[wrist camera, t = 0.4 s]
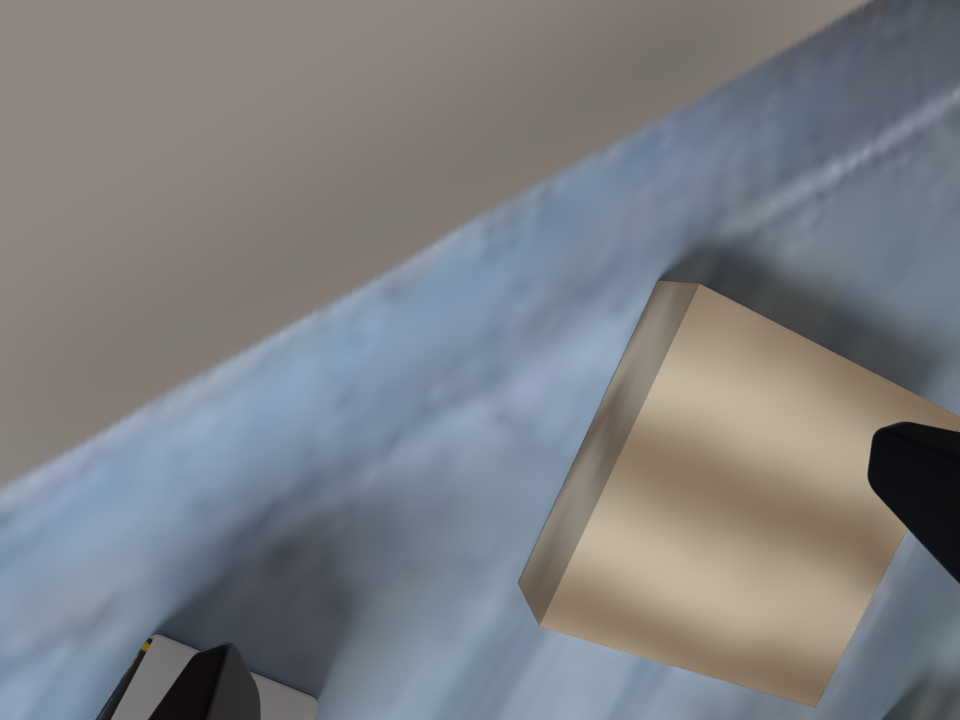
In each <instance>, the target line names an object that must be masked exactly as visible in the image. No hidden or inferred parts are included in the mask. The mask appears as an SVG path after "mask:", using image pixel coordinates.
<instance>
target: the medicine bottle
mask: <svg viewBox="0 0 960 720" xmlns="http://www.w3.org/2000/svg"><path fill="white" fill-rule="evenodd" d="M197 652H199V650H196V649H194V648H192V647H189V646H187V645H184V644H182V643H179V642H177V641H174V640H172V639H169V638H167V637H165V636H162V635H153V636H151V637H150V638H149V639H148V640H147V641H146V642H145V643H144V645H143V646H142V648H141V649H140V651H139V653H138V654H137V656H136V657H135V659H134V660H133V662H132V663H131V665H130V667H129V668H128V670H127V671H126V673H125V674H124V676H123V678H122V679H121V681H120V682H119V684H118V685H117V687H116V689H115V690H114V692H113V693H112V695H111V696H110V698H109V699H108V701H107V703H106V704H105V706H104V707H103V709H102V710H101V712H100V714H99V715H98V717H97V718H96V720H148V718H149V717H150V716H151V714H152V713H153V711H154V710H155V709H156V707H157V706H158V704H159V703H160V701H161V700H162V699H163V697H164V696H165V694H166V693H167V692H168V690H169V689H170V687H171V686H172V684H173V683H174V682H175V680H176V679H177V677H178V676H179V675H180V673H181V672H182V670H183V669H184V667H185V666H186V665H187V663H188V662H189V660H190V659H191V658H192V657H193V656H194V655H195V654H196V653H197ZM250 673H251V675H252V677H253V679H254V680H255V682H256V685H257V687H258V691H259V696H260V705H261V720H316V719H317V708H318V705H317V702H316V699H315V698H314V697H312V696H310V695H307V694H305V693H302V692H300V691H297V690H295V689H292V688H290V687H287V686H285V685H283V684H280V683H278V682H275V681H273V680H270V679H268V678H265V677H263V676H260V675H258V674H255V673H253V672H251V671H250Z"/></svg>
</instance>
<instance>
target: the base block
mask: <svg viewBox="0 0 960 720" xmlns="http://www.w3.org/2000/svg"><path fill="white" fill-rule="evenodd" d="M903 421H907V422H913V423H918V424H923V425H928V426H933V427H938V428H943V429H947V430H952V431H957V432H958V430H959V428H960V417H959V416H957V415H955V414H953V413H951V412H949V411H947V410H945V409H943V408H942V407H940V406H938V405H936V404H934V403H932V402H930V401H928V400H926V399H924V398H922V397H920V396H918V395H916V394H914V393H912V392H910V391H908V390H906V389H904V388H902V387H900V386H899V385H897V384H895V383H893V382H891V381H889V380H887V379H885V378H883V377H881V376H879V375H877V374H875V373H873V372H871V371H869V370H867V369H865V368H863V367H861V366H859V365H857V364H856V363H854V362H852V361H850V360H848V359H846V358H844V357H842V356H840V355H838V354H836V353H834V352H832V351H830V350H828V349H826V348H824V347H822V346H820V345H818V344H816V343H815V342H813V341H811V340H809V339H807V338H805V337H803V336H801V335H799V334H797V333H795V332H793V331H791V330H789V329H787V328H785V327H783V326H781V325H779V324H777V323H775V322H773V321H772V320H770V319H768V318H766V317H764V316H762V315H760V314H758V313H756V312H754V311H752V310H750V309H748V308H746V307H744V306H742V305H740V304H738V303H736V302H734V301H732V300H730V299H729V298H727V297H725V296H723V295H721V294H719V293H717V292H715V291H713V290H711V289H709V288H707V287H705V286H703V285H701V284H696V283H683V282H670V281H657V283H656V285H655V288H654V290H653V292H652V294H651V296H650V298H649V301H648V303H647V305H646V307H645V309H644V311H643V314H642V316H641V318H640V320H639V322H638V324H637V327H636V329H635V331H634V333H633V335H632V337H631V340H630V342H629V344H628V346H627V348H626V350H625V353H624V355H623V357H622V359H621V361H620V363H619V366H618V368H617V370H616V372H615V374H614V376H613V379H612V381H611V383H610V385H609V387H608V389H607V392H606V394H605V396H604V398H603V400H602V402H601V405H600V407H599V409H598V411H597V413H596V415H595V418H594V420H593V422H592V424H591V426H590V428H589V431H588V433H587V435H586V437H585V439H584V441H583V444H582V446H581V448H580V450H579V452H578V454H577V457H576V459H575V461H574V463H573V465H572V467H571V469H570V472H569V474H568V476H567V478H566V480H565V482H564V485H563V487H562V489H561V491H560V493H559V495H558V498H557V500H556V502H555V504H554V506H553V508H552V511H551V513H550V515H549V517H548V519H547V521H546V524H545V526H544V528H543V530H542V532H541V534H540V537H539V539H538V541H537V543H536V545H535V547H534V550H533V552H532V554H531V556H530V558H529V560H528V563H527V565H526V567H525V569H524V571H523V573H522V576H521V578H520V580H519V582H518V585H519V587H520V589H521V591H522V593H523V595H524V597H525V599H526V601H527V603H528V605H529V607H530V609H531V611H532V613H533V615H534V617H535V619H536V621H537V623H538V625H539V627H542V628H546V629H549V630H553V631H556V632H559V633H563V634H566V635H570V636H573V637H576V638H580V639H583V640H587V641H590V642H593V643H597V644H600V645H604V646H607V647H611V648H614V649H617V650H621V651H624V652H628V653H631V654H634V655H638V656H641V657H645V658H648V659H651V660H655V661H658V662H662V663H665V664H668V665H672V666H675V667H679V668H682V669H685V670H689V671H692V672H696V673H699V674H703V675H706V676H709V677H713V678H716V679H720V680H723V681H726V682H730V683H733V684H737V685H740V686H743V687H747V688H750V689H754V690H757V691H760V692H764V693H767V694H771V695H774V696H777V697H781V698H784V699H788V700H791V701H795V702H798V703H801V704H805V705H808V706H812V707H815V708H816V706H817V704H818V702H819V700H820V698H821V696H822V694H823V692H824V690H825V688H826V686H827V684H828V682H829V680H830V678H831V677H832V675H833V673H834V671H835V669H836V667H837V665H838V663H839V661H840V659H841V657H842V655H843V653H844V651H845V649H846V647H847V645H848V644H849V642H850V640H851V638H852V636H853V634H854V632H855V630H856V628H857V626H858V624H859V622H860V620H861V618H862V616H863V614H864V612H865V611H866V609H867V607H868V605H869V603H870V601H871V599H872V597H873V595H874V593H875V591H876V589H877V587H878V585H879V583H880V581H881V579H882V578H883V576H884V574H885V572H886V570H887V568H888V566H889V564H890V562H891V560H892V558H893V556H894V554H895V552H896V550H897V548H898V546H899V545H900V543H901V541H902V539H903V537H904V535H905V533H906V531H907V529H908V528H907V527H906V526H905V525H904V524H903V523H902V522H901V521H900V520H899V519H898V518H897V516H896V515H895V514H894V513H893V512H892V511H891V510H890V509H889V508H888V507H887V506H886V505H885V503H884V502H883V501H882V500H881V499H880V498H879V497H878V496H877V495H876V494H875V492H874V491H873V490H872V488H871V486H870V484H869V482H868V478H867V471H868V464H869V457H870V450H871V442H872V437H873V434H874V433H875V432H876V430H878V429H880V428H882V427H885V426H888V425H892V424H895V423H898V422H903Z"/></svg>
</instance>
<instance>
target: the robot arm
mask: <svg viewBox="0 0 960 720" xmlns="http://www.w3.org/2000/svg"><path fill="white" fill-rule="evenodd" d="M867 478H868V482H869V484H870V486H871V488H872V490H873V491H874V492H875V494H876V495H877V496H878V497H879V498H880V499H881V500H882V501H883V502H884V503H885V505H886V506H887V507H888V508H889V509H890V510H891V511H892V512H893V513H894V514H895V515H896V516H897V518H898V519H899V520H900V521H901V522H902V523H903V524H904V525H905V526H906V527H907V528H908V529H909V531H910V532H911V533H912V534H913V535H914V536H915V537H916V538H917V539H918V540H919V541H920V542H921V544H922V545H923V546H924V547H925V548H926V549H927V550H928V551H929V552H930V553H931V554H932V555H933V557H934V558H935V559H936V560H937V561H938V562H939V563H940V564H941V565H942V566H943V567H944V568H945V569H946V570H947V571H948V573H949V574H950V575H951V576H952V577H953V578H954V579H955V580H956V581H957V582H958V583H959V584H960V432H957V431H952V430H947V429H943V428H938V427H933V426H928V425H923V424H918V423H913V422H907V421H903V422H898V423H895V424H892V425H888V426H885V427H882V428H880V429H878V430H876V432H875V433H874V434H873V437H872V442H871V450H870V457H869V464H868V471H867ZM148 720H261V705H260V696H259V691H258V687H257V685H256V682H255V680H254V679H253V677H252V675H251V673H250V671H249V669H248V667H247V665H246V664H245V662H244V660H243V658H242V656H241V654H240V652H239V650H238V649H237V647H236V646H235V645H234V644H233V643H230V642H225V643H222V644H219V645H216V646H213V647H210V648H207V649H204V650H201V651H199V652H197V653H196V654H195V655H194V656H193V657H192V658H191V659H190V660H189V662H188V663H187V665H186V666H185V667H184V669H183V670H182V672H181V673H180V675H179V676H178V677H177V679H176V680H175V682H174V683H173V684H172V686H171V687H170V689H169V690H168V692H167V693H166V694H165V696H164V697H163V699H162V700H161V701H160V703H159V704H158V706H157V707H156V709H155V710H154V711H153V713H152V714H151V716H150V717H149V718H148Z"/></svg>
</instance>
